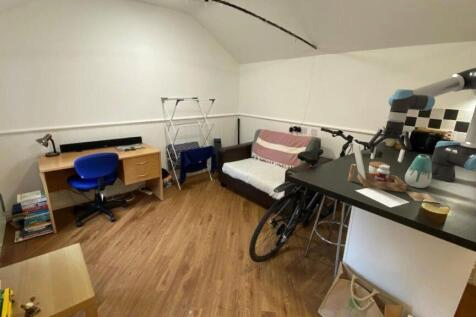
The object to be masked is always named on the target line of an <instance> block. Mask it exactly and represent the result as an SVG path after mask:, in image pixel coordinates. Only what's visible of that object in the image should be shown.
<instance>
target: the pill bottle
mask: <svg viewBox="0 0 476 317" xmlns="http://www.w3.org/2000/svg"><path fill="white" fill-rule="evenodd" d="M387 165H388V164H387ZM387 165H380V166H379V169H377V172H376V175H375V179H374V180H373V181H382V182H387V181H388V178H389V175H391V171H390V168H391V166H390V165H389V166H390V167H389V166H387Z"/></svg>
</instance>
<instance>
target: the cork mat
mask: <svg viewBox="0 0 476 317" xmlns="http://www.w3.org/2000/svg"><path fill="white" fill-rule="evenodd" d="M405 193H406V194H407V195H408V196H409V197H410V198H411V199H413V200H414V201H415V202H421V203H423V202H422V201H423V200H424V199H432V200H436V198H434V197H433V196H431V195H430V194H428V193H425V192H424V193H423V192H417V191H416V192H414V191H407V190H406V192H405Z"/></svg>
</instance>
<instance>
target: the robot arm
mask: <svg viewBox="0 0 476 317" xmlns="http://www.w3.org/2000/svg"><path fill="white" fill-rule="evenodd" d="M467 90H470V91H473V90H476V67H471V68H469V69H466V70H463V71H460V72H457V73H455V74H452V75H450V76H448V78H445V79H442V80H439V81H435V82H432V83H430V84H426V85H422V86H421V87H418V88H414V89H403V88H402V89H399V88H398V89H396V90H395V91H394V93H393V94H392V95H391V96H390V97H389V98H388V105H389V106H390V108H389V112H388V118H387V121H386V125H385V129H382V128H378V129H377V131H376V133H375V134H374V136H372V138H371V139H370V141H369V142H368V143H367V144H368V146H370V147H371V148H370V150H369V151H370V154H371V155H370V159H371V160H374V159H375V155H376V150H377V147H378V145H380V144H381V143H382V142H384V141H385V140H386V139H390V140H391V139H393V140H397V141H398V143H399V145H400V147H401V149H400V152H399V155H398V158H397V162H399V163H402V162H403V159H404V157H405V156H406V155H407V152H408V151H409V150H410V151H411V150H412V149H413V147H412V144H411V140H410V137H409V136H410V131H408V130H404V126H405V122H406V119H407V116H408V113H409V110H413V111H429V110H431V109H433V107H434V106H435V103H436V99H435V98H436V97H438V96H439V97H440V96H441V95H446V94H448V93H452V92H454V93H455V92H459V91H467ZM475 95H476V92H475ZM470 119H471V120H470V123H469V125H468V126H469V127H468V130H467V133H466V136H465V139H464V140H463V142H462V141H461V142H460V141H451V140H439V141H437V142H436V144H435V146H434V151H433V153H432V157H431V161H432V179H434V180H436V181H437V180H438V181H442V182H455V180H456V166H457V167H459V168H462V169H465V170H467V171H472V172H476V105H475V107H474V109H473V113H472V116H471V118H470ZM403 130H404V131H403ZM383 133H384V134H383ZM382 134H383V135H382ZM381 135H382V136H381ZM402 135H403V137H404V141H403V139H402V137H401V136H402ZM380 136H381V137H380Z"/></svg>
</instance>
